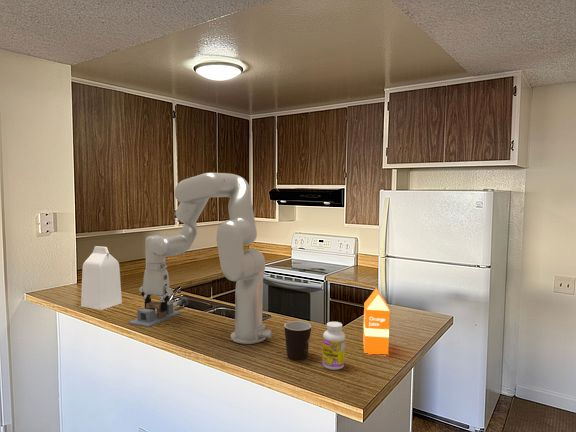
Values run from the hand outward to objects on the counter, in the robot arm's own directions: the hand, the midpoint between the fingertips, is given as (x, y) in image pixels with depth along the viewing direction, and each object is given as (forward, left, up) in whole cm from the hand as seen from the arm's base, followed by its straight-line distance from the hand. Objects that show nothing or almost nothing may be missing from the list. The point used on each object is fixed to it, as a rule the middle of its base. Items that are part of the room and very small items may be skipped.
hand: (156, 309), depth 165 cm
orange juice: (-87, -6, -4) cm, 87 cm away
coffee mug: (-66, +9, -4) cm, 67 cm away
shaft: (0, -11, -2) cm, 11 cm away
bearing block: (0, 0, -3) cm, 3 cm away
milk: (+34, -4, -4) cm, 34 cm away
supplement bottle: (-78, +12, -4) cm, 79 cm away
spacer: (0, 0, -3) cm, 3 cm away
